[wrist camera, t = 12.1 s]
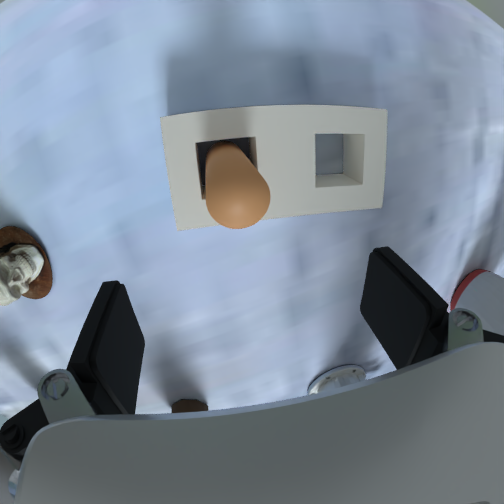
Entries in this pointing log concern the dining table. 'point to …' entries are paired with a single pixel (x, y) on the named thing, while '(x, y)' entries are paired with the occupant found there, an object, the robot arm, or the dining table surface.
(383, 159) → the block
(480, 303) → the citrus juicer
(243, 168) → the peg
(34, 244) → the skull
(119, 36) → the dining table surface
